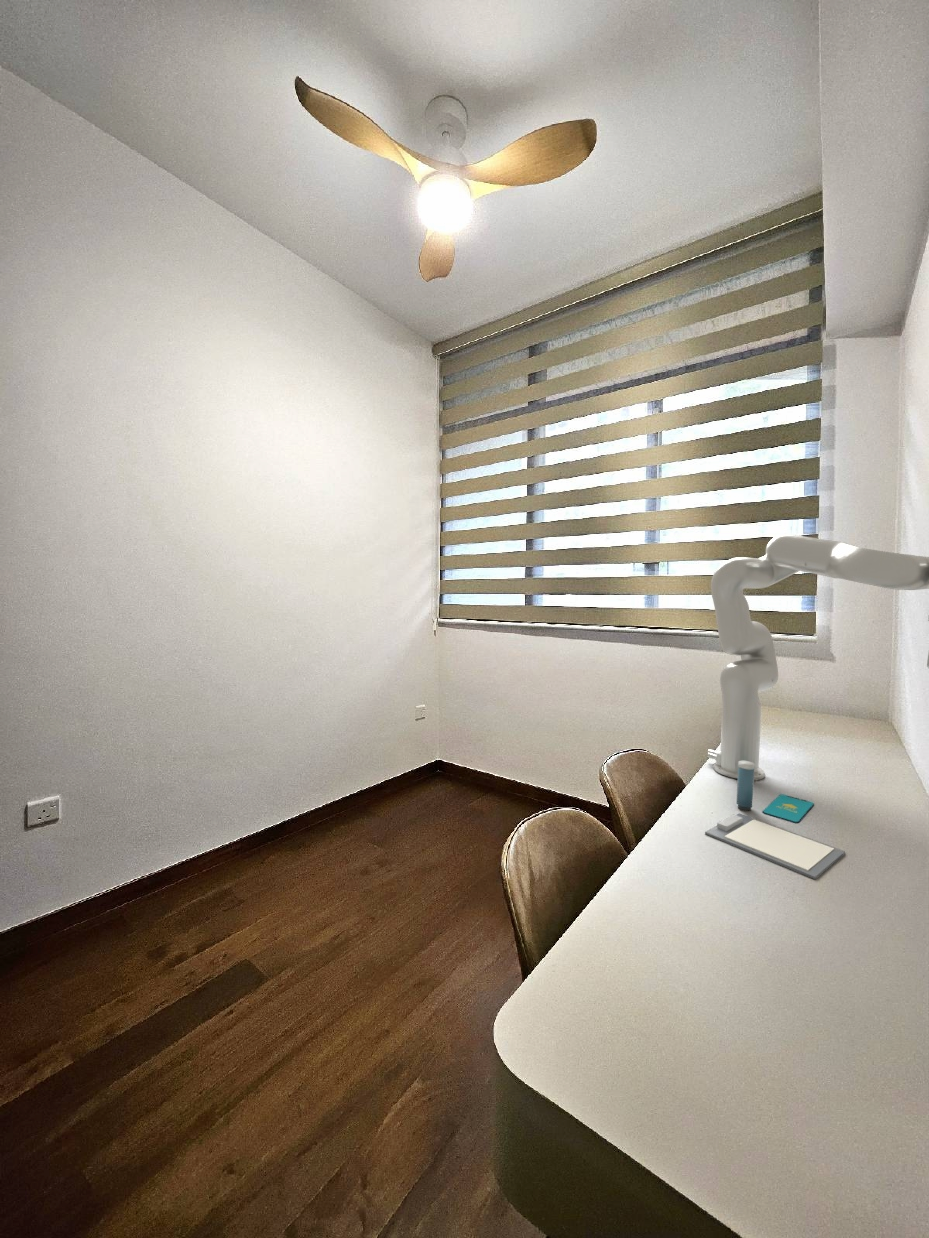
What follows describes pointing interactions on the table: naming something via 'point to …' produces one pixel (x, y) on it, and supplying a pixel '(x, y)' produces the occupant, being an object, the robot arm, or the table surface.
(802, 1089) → the table surface
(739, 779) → the bottle
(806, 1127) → the table surface
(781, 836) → the clipboard
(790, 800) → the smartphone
